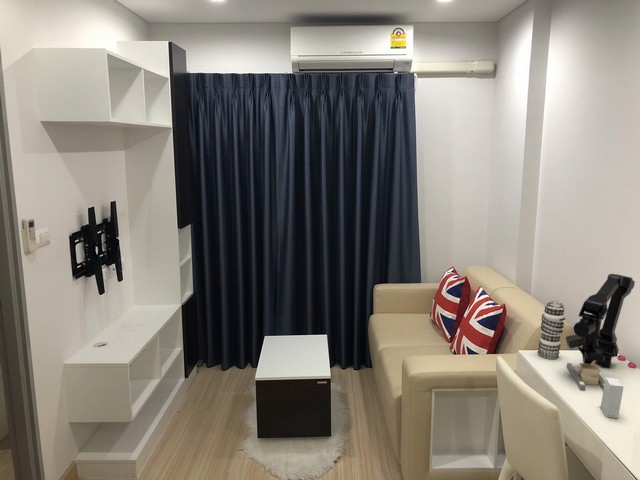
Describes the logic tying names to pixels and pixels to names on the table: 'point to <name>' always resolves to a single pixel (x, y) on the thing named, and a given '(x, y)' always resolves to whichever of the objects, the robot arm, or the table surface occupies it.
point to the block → (589, 373)
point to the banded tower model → (551, 330)
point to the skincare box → (611, 397)
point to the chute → (578, 379)
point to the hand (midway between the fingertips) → (585, 367)
